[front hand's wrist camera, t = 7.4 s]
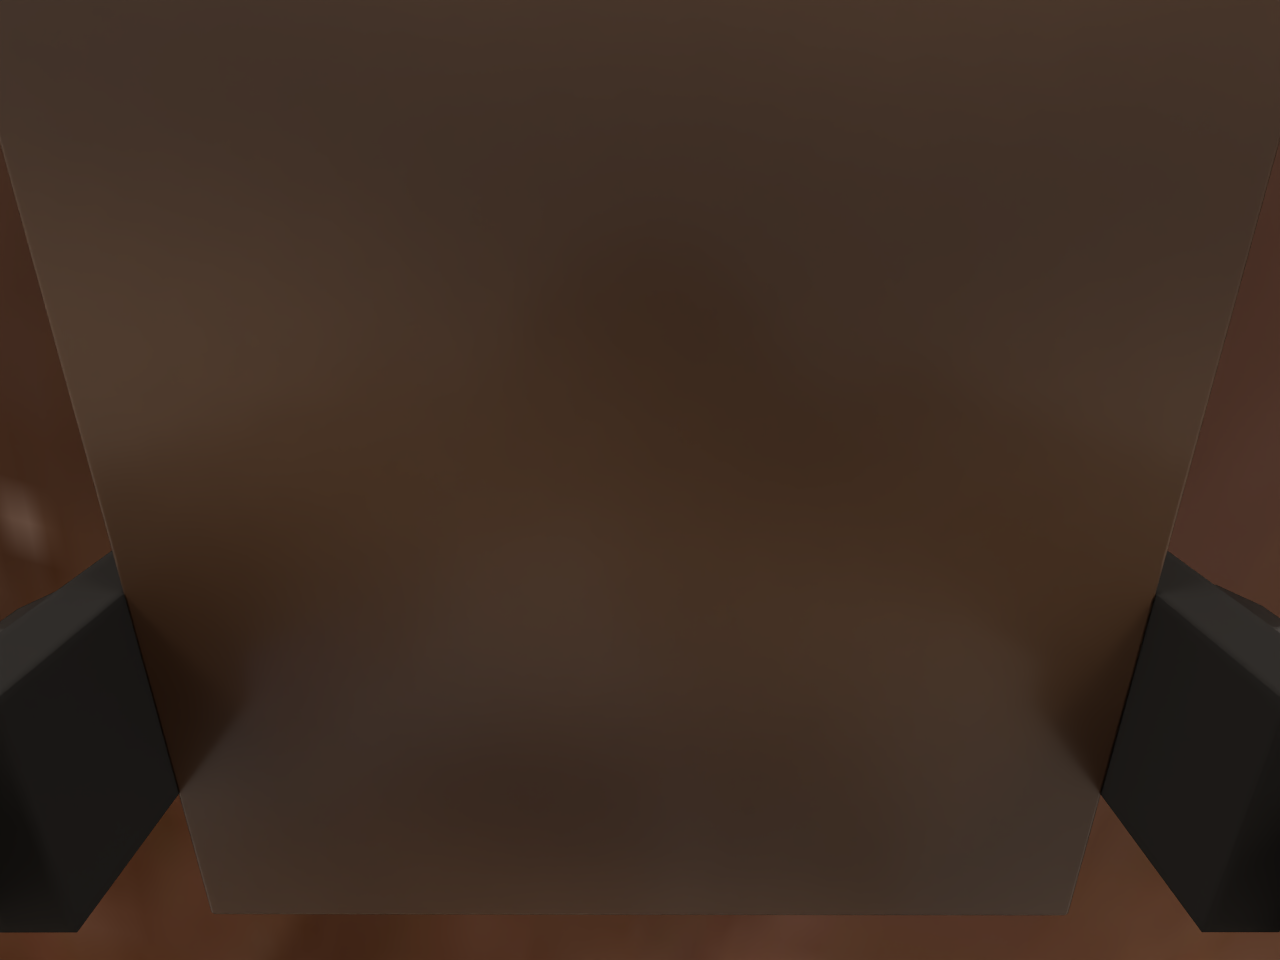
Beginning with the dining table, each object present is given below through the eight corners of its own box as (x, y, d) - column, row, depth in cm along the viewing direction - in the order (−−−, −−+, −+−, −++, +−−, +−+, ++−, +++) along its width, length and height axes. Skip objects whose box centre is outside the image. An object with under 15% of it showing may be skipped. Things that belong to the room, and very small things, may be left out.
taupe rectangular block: (292, -485, 12) (-688, -2324, 3) (988, -487, 12) (1965, -2339, 3) (415, 562, 19) (209, 916, 10) (865, 562, 19) (1068, 917, 10)
